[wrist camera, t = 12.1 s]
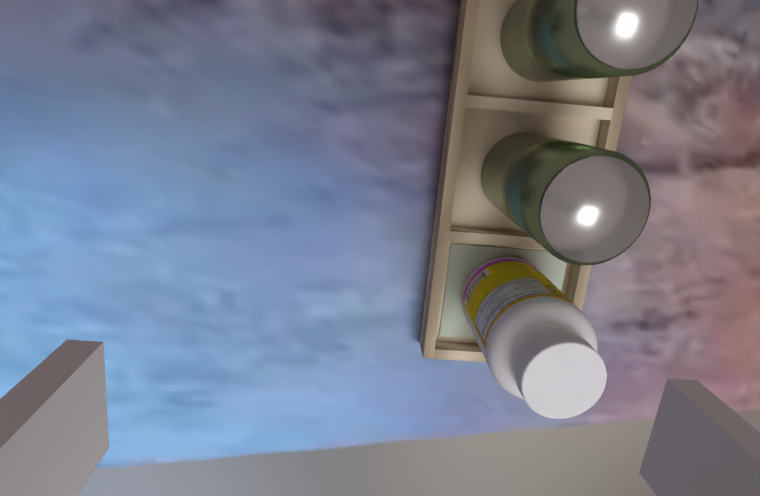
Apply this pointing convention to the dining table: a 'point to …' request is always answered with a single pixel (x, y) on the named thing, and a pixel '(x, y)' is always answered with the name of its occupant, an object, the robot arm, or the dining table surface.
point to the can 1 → (593, 37)
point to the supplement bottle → (534, 338)
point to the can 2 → (568, 195)
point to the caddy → (465, 159)
